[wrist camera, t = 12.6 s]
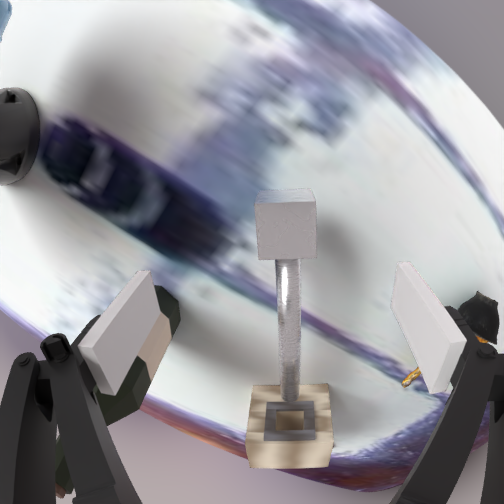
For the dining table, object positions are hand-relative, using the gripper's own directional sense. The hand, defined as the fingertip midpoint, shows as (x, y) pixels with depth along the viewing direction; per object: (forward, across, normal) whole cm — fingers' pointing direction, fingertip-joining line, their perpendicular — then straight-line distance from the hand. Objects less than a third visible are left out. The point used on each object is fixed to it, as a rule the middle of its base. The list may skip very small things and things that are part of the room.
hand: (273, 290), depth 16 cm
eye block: (+21, +1, -34) cm, 40 cm away
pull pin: (+16, +1, -11) cm, 19 cm away
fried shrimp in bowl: (+21, +25, -21) cm, 39 cm away
